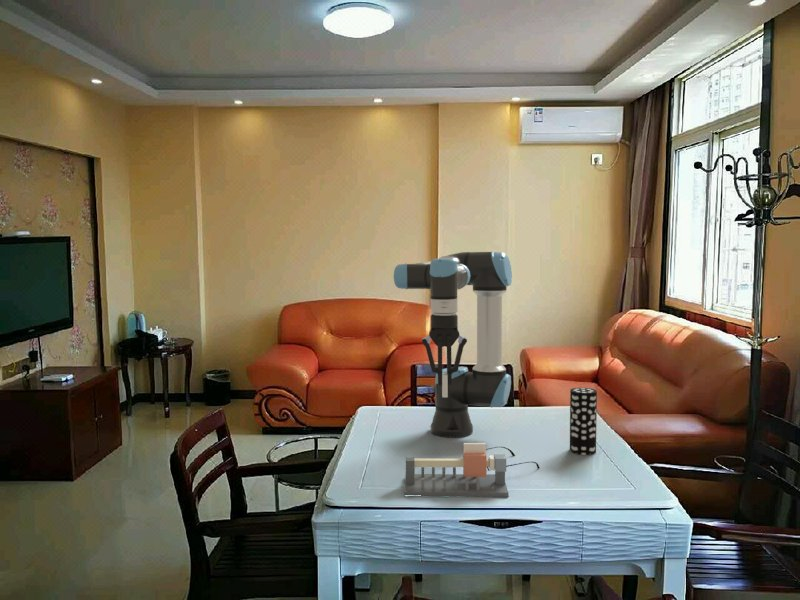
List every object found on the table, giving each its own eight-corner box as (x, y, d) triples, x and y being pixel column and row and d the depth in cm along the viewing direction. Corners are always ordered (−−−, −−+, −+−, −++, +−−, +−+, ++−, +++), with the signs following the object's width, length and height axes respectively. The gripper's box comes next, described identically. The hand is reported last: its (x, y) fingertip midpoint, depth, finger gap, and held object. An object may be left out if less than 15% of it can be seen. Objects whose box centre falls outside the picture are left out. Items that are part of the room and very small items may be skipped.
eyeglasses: (470, 462, 207) (470, 450, 207) (512, 455, 214) (512, 443, 214) (498, 479, 192) (498, 465, 192) (543, 471, 199) (543, 458, 199)
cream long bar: (408, 471, 184) (408, 458, 183) (408, 466, 187) (408, 454, 187) (506, 471, 182) (506, 458, 182) (504, 466, 186) (504, 454, 186)
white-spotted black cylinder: (597, 455, 211) (598, 393, 210) (570, 454, 213) (570, 392, 211) (594, 447, 219) (595, 388, 218) (569, 446, 221) (569, 387, 219)
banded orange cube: (464, 477, 182) (464, 446, 181) (463, 469, 188) (463, 440, 187) (486, 477, 182) (486, 446, 181) (484, 469, 188) (484, 440, 187)
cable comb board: (404, 496, 179) (403, 467, 178) (405, 478, 193) (405, 451, 192) (508, 496, 178) (508, 467, 177) (502, 478, 192) (502, 451, 191)
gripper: (420, 315, 182) (421, 399, 185) (468, 315, 182) (468, 399, 184) (420, 312, 190) (421, 393, 192) (466, 311, 189) (467, 392, 192)
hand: (444, 396), depth 188 cm, fingers closed
